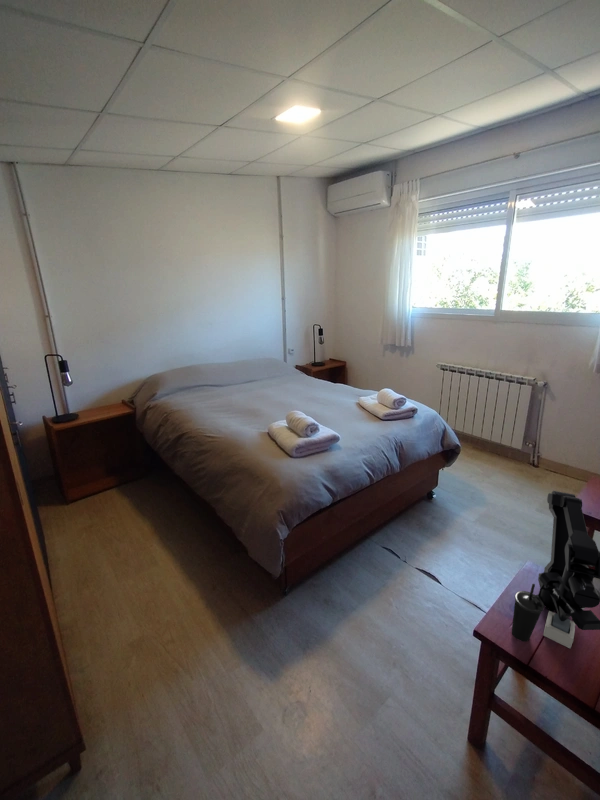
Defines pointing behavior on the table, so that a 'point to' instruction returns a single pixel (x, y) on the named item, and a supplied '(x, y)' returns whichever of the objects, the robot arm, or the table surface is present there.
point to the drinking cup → (526, 614)
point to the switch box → (559, 632)
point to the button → (561, 623)
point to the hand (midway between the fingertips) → (561, 620)
